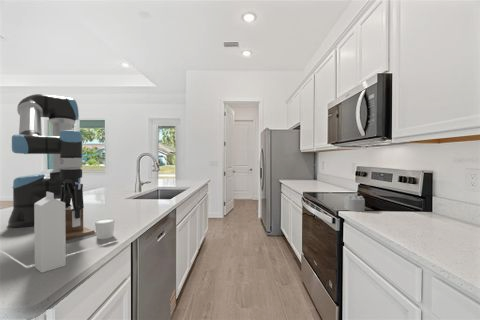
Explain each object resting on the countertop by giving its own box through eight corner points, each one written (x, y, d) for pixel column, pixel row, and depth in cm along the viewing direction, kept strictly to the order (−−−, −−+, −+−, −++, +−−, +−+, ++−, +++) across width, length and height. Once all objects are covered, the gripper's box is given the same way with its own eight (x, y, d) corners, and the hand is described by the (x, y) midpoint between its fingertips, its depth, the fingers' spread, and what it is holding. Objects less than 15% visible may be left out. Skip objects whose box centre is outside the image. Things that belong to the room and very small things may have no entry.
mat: (40, 236, 103) (40, 234, 103) (78, 228, 115) (78, 226, 115) (63, 245, 92) (63, 244, 92) (102, 235, 104) (102, 234, 104)
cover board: (47, 235, 101) (47, 210, 101) (80, 228, 112) (80, 205, 111) (61, 241, 95) (61, 214, 95) (94, 233, 105) (94, 208, 105)
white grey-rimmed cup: (106, 241, 97) (106, 223, 97) (90, 240, 98) (90, 222, 98) (118, 236, 103) (118, 219, 103) (103, 235, 105) (103, 218, 105)
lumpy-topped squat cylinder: (358, 207, 165) (359, 194, 165) (368, 211, 152) (368, 197, 152) (342, 207, 165) (342, 194, 165) (351, 211, 152) (351, 197, 152)
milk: (58, 261, 79) (58, 190, 79) (65, 266, 75) (66, 192, 75) (33, 267, 74) (34, 192, 74) (40, 273, 71) (40, 194, 70)
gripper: (49, 168, 105) (50, 223, 106) (73, 169, 94) (73, 231, 95) (69, 167, 111) (70, 219, 112) (93, 169, 101) (94, 226, 101)
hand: (71, 224), depth 103 cm, fingers open, 7 cm apart
